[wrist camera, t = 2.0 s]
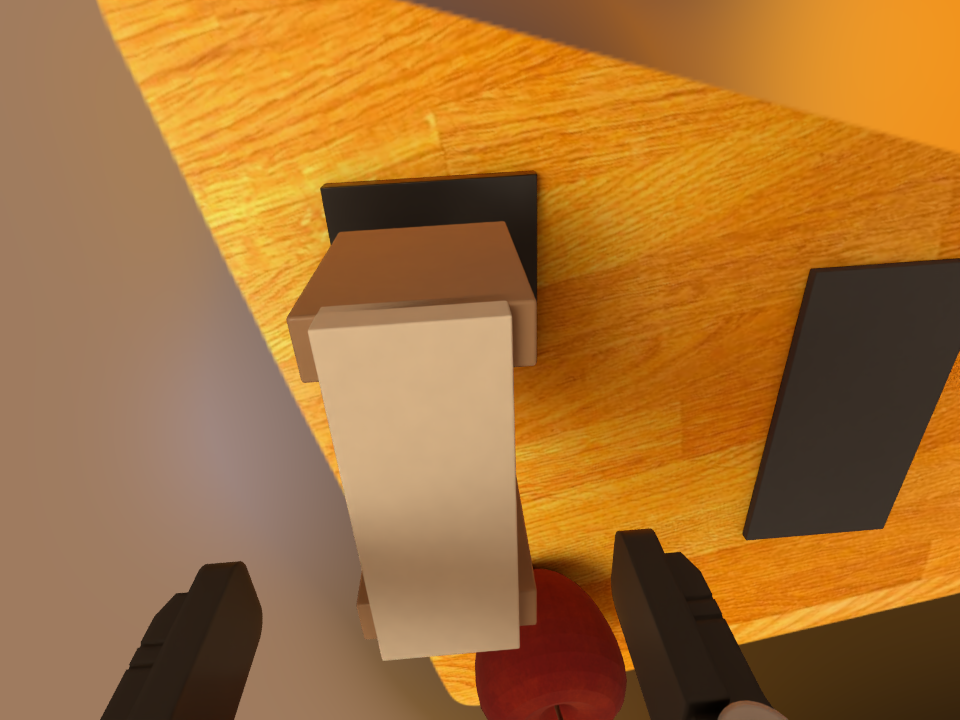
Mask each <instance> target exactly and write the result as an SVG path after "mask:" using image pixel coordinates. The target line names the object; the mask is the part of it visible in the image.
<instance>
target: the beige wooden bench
mask: <svg viewBox="0 0 960 720" xmlns="http://www.w3.org/2000/svg"><path fill="white" fill-rule="evenodd" d="M287 324H288V328H289V332H290V336H291V340H292V344H293V348H294V352H295V356H296V360H297V365H298V369H299V373H300V377H301V380H302V382H304V383H307V382H319V384H320V388H321V393H322V397H323V401H324V406H325V410H326V415H327V419H328V423H329V428H330V432H331V436H332V441H333V445H334V450H335V454H336V458H337V463H338V467H339V472H340V476H341V480H342V485H343V489H344V494H345V498H346V502H347V507H348V511H349V516H350V520H351V524H352V529H353V533H354V538H355V542H356V546H357V551H358V555H359V559H360V564H361V568H362V573H361V580H360V586H359V592H358V599H357V609H358V614H359V618H360V622H361V626H362V630H363V634H364V638H365V639H378V643H379V647H380V652H381V656H382V660H384V661H385V660H396V659H407V658H419V657H430V656H441V655H452V654H463V653H475V652H486V651H497V650H508V649H518V648H520V630H519V626H525V625H535V624H536V622H537V589H536V583H535V578H534V572H533V567H532V561H531V555H530V550H529V544H528V539H527V533H526V528H525V522H524V516H523V511H522V505H521V500H520V494H519V489H518V483H517V477H516V461H515V419H514V377H513V367H523V366H534V365H536V362H537V302H536V299H535V297H534V294H533V292H532V289H531V287H530V284H529V282H528V279H527V276H526V274H525V271H524V269H523V266H522V264H521V261H520V259H519V256H518V254H517V251H516V249H515V246H514V244H513V241H512V239H511V236H510V234H509V231H508V228H507V226H506V223H505V222H504V221H499V222H484V223H469V224H453V225H438V226H423V227H408V228H393V229H378V230H363V231H348V232H340V233H338V235H337V236H336V238H335V240H334V241H333V243H332V245H331V246H330V248H329V250H328V251H327V253H326V254H325V256H324V258H323V259H322V261H321V263H320V264H319V266H318V268H317V269H316V271H315V272H314V274H313V276H312V277H311V279H310V281H309V282H308V284H307V285H306V287H305V289H304V290H303V292H302V294H301V295H300V297H299V299H298V300H297V302H296V303H295V305H294V307H293V308H292V310H291V312H290V313H289V315H288V317H287Z"/></svg>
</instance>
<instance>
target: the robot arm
mask: <svg viewBox="0 0 960 720" xmlns="http://www.w3.org/2000/svg"><path fill="white" fill-rule="evenodd" d="M611 588H612V595H613V601H614V605H615V609H616V612H617V615H618V618H619V621H620V624H621V628H622V631H623V634H624V637H625V640H626V643H627V646H628V650H629V653H630V656H631V659H632V662H633V665H634V668H635V671H636V675H637V678H638V681H639V684H640V687H641V690H642V693H643V696H644V699H645V702H646V706H647V709H648V712H649V715H650V718H651V720H788V719H787V718H786V717H784V716H783V715H782V714H781V713H779V712H778V711H776V710H775V709H774V708H773V707H772V706H771V704H770V703H769V702H768V700H767V699H766V698H765V696H764V694H763V692H762V691H761V689H760V687H759V685H758V683H757V681H756V679H755V677H754V675H753V673H752V671H751V669H750V667H749V665H748V663H747V661H746V659H745V658H744V656H743V654H742V652H741V650H740V648H739V646H738V644H737V642H736V640H735V638H734V636H733V634H732V632H731V630H730V628H729V626H728V624H727V622H726V620H725V619H723V617H722V613H721V611H720V609H719V607H718V605H717V603H716V601H715V599H713V597H712V593H711V591H710V589H709V587H708V585H707V583H706V581H705V579H704V577H703V575H702V573H701V571H700V570H699V569H698V568H697V567H695V566H694V565H693V564H692V563H691V562H690V561H689V560H688V559H687V558H686V557H685V556H684V555H683V554H682V553H681V552H675V553H664V551H663V549H662V547H661V544H660V542H659V540H658V538H657V536H656V534H655V532H654V531H653V530H652V529H638V530H626V531H617V532H616V535H615V543H614V553H613V563H612V574H611ZM261 630H262V609H261V605H260V603H259V600H258V597H257V594H256V592H255V589H254V586H253V584H252V581H251V578H250V575H249V573H248V570H247V568H246V565H245V564H244V563H243V562H241V561H239V562H227V563H216V564H205V565H204V566H202V567H201V569H200V570H199V572H198V573H197V575H196V577H195V580H194V582H193V584H192V586H191V588H190V590H189V592H188V593H177V594H175V595H174V596H173V597H172V598H171V600H170V601H169V602H168V603H167V604H166V605H165V606H164V607H163V608H162V609H161V610H160V611H159V612H158V613H157V614H156V615H155V617H154V618H153V620H152V622H151V624H150V626H149V628H148V630H147V631H146V633H145V635H144V637H143V639H142V641H141V646H140V648H138V649H137V651H136V652H135V654H134V656H133V658H132V660H131V662H130V664H129V665H130V667H129V669H128V670H126V672H125V673H124V675H123V677H122V679H121V681H120V683H119V685H118V687H117V689H116V691H115V693H114V695H113V696H112V698H111V700H110V702H109V704H108V706H107V708H106V710H105V712H104V714H103V716H102V717H101V719H100V720H234V718H235V715H236V712H237V708H238V705H239V702H240V699H241V696H242V693H243V689H244V686H245V683H246V680H247V677H248V674H249V671H250V667H251V665H252V662H253V658H254V655H255V652H256V649H257V646H258V642H259V639H260V635H261Z"/></svg>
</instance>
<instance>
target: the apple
mask: <svg viewBox="0 0 960 720" xmlns="http://www.w3.org/2000/svg"><path fill="white" fill-rule="evenodd" d="M533 572H534V578H535V583H536V589H537V622H536V624H535V625H525V626H519V630H520V648H518V649H508V650H497V651H486V652H476V660H475V674H476V687H477V692H478V697H479V701H480V706H481V709H482V711H483V712H484V714H485V716H486V717H487V719H488V720H613V719H614V717H615V716H616V714H617V713H618V712H619V711H620V709H621V707H622V705H623V702H624V697H625V691H626V682H627V679H626V672H625V665H624V661H623V657H622V654H621V651H620V649H619V646H618V643H617V640H616V638H615V636H614V634H613V632H612V630H611V628H610V626H609V624H608V623H607V621H606V620H605V618H604V616H603V615H602V613H601V611H600V610H599V608H598V607H597V605H596V604H595V603H594V601H593V600H592V599H591V598H590V596H589V595H588V594H587V593H586V592H585V591H584V590H583V589H582V588H580V587H579V586H578V585H577V584H576V583H575V582H573V581H572V580H570V579H569V578H567V577H566V576H564V575H563V574H560V573H558V572H555V571H551V570H547V569H533Z"/></svg>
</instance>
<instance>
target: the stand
mask: <svg viewBox="0 0 960 720" xmlns="http://www.w3.org/2000/svg"><path fill="white" fill-rule="evenodd" d="M320 190H321V195H322V201H323V206H324V211H325V216H326V222H327V227H328V232H329V238H330V243H331V245H332V243H333V241H334V240H335V238H336V236H337V235H338V233H340V232H348V231H363V230H378V229H393V228H408V227H423V226H438V225H453V224H469V223H484V222H499V221H504V222H505V223H506V226H507V228H508V231H509V234H510V236H511V239H512V241H513V244H514V246H515V249H516V251H517V254H518V256H519V259H520V261H521V264H522V266H523V269H524V271H525V274H526V276H527V279H528V282H529V284H530V287H531V289H532V292H533V294H534V297H535V299H536V302H537V174H536V173H535V172H534V171H518V172H502V173H487V174H471V175H455V176H439V177H424V178H408V179H392V180H377V181H361V182H345V183H330V184H324V185H323V186H322V187H321V188H320Z"/></svg>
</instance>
